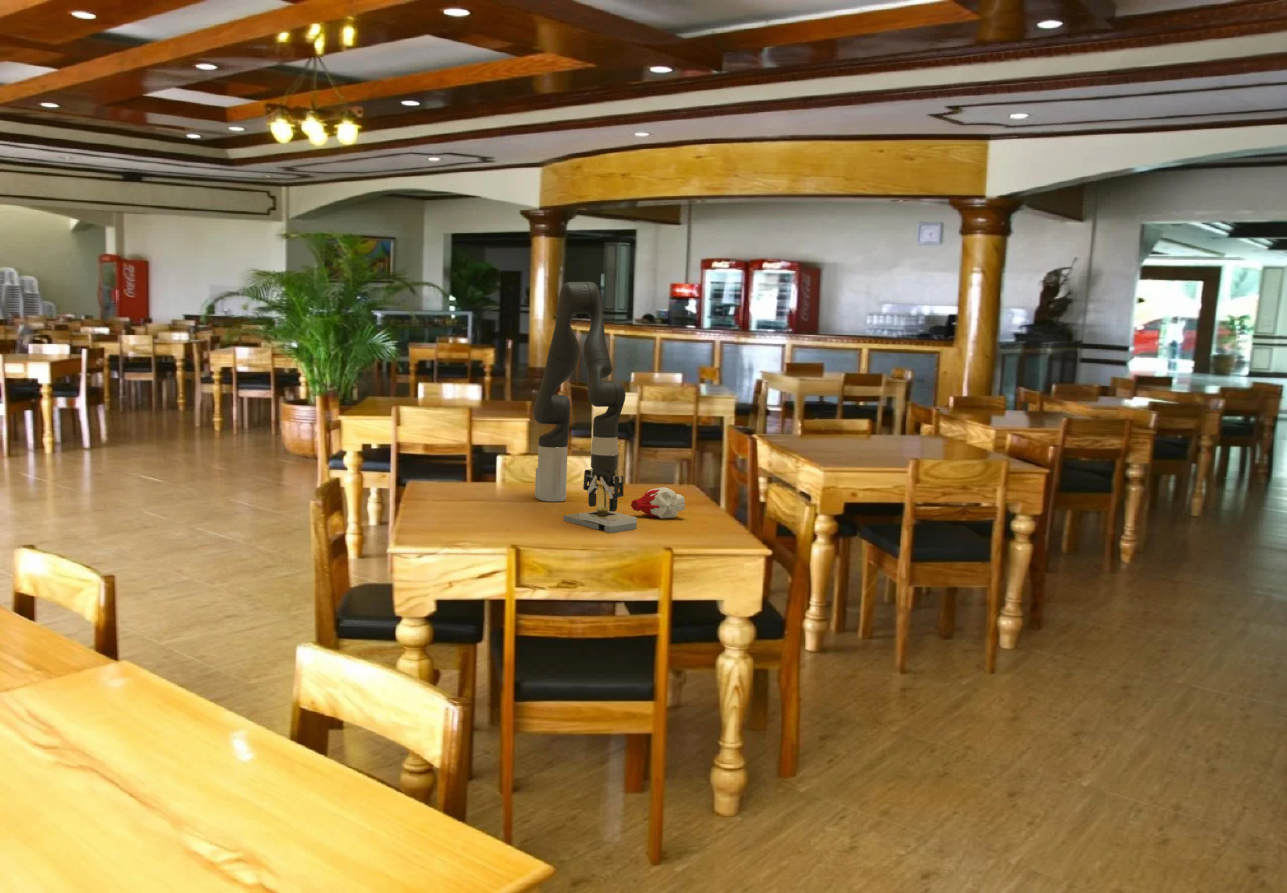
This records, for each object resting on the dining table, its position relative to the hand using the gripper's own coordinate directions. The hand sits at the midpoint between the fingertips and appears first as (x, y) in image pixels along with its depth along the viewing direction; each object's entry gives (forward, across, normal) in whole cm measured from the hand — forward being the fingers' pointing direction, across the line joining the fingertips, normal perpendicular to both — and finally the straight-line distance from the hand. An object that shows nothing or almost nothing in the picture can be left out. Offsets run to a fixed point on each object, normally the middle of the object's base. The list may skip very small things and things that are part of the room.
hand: (602, 508), depth 306 cm
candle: (+5, 0, +22) cm, 23 cm away
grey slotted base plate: (+5, 0, 0) cm, 5 cm away
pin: (+5, 0, 0) cm, 5 cm away
